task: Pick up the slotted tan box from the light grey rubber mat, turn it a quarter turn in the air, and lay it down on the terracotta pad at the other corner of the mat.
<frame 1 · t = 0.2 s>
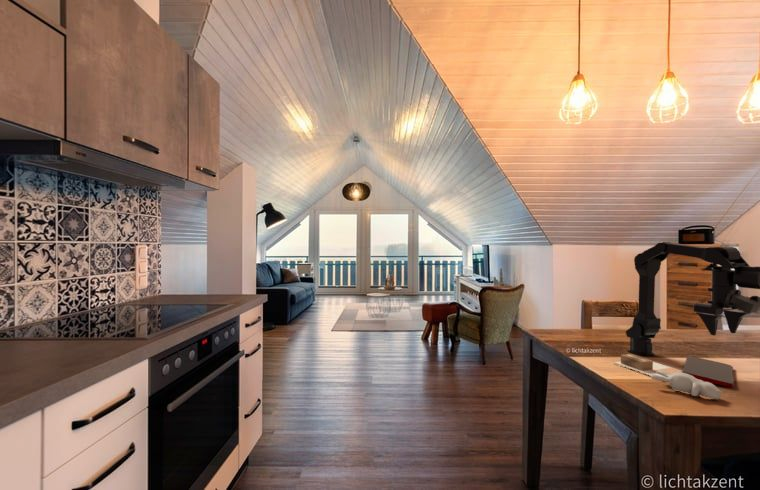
hand: (723, 334, 115), 14 cm above the table, tool pointing down, fingers open, 9 cm apart
mat: (652, 370, 123), on the table
slotted tan box: (636, 366, 125), point 1 cm above the table, touching mat
bunny figurine: (685, 393, 105), on the table
grey and red slab: (707, 372, 120), on the table, touching mat
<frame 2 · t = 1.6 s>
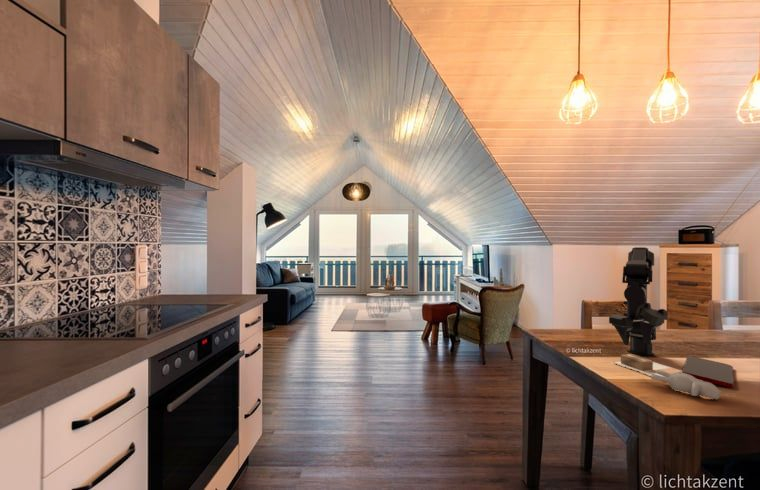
hand: (636, 343, 125), 8 cm above the table, tool pointing down, fingers open, 9 cm apart
nothing on the table moved.
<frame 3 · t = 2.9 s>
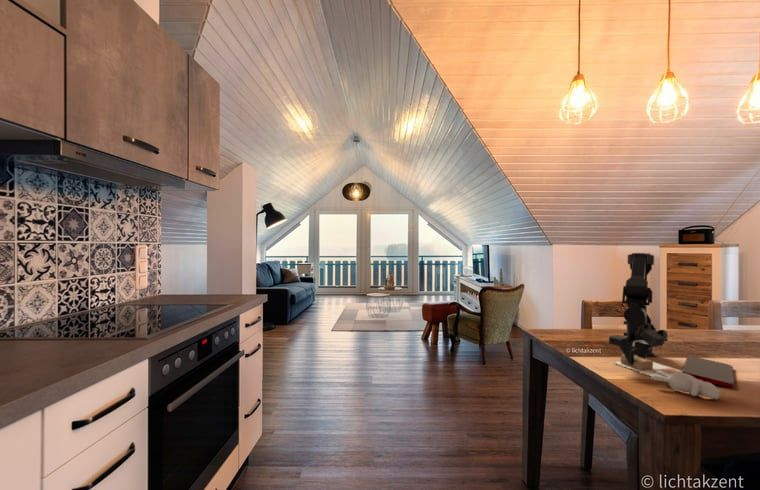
hand: (636, 364, 125), 1 cm above the table, tool pointing down, fingers closed on slotted tan box, 4 cm apart
slotted tan box: (636, 366, 125), point 1 cm above the table, touching gripper, mat
everything else where it was.
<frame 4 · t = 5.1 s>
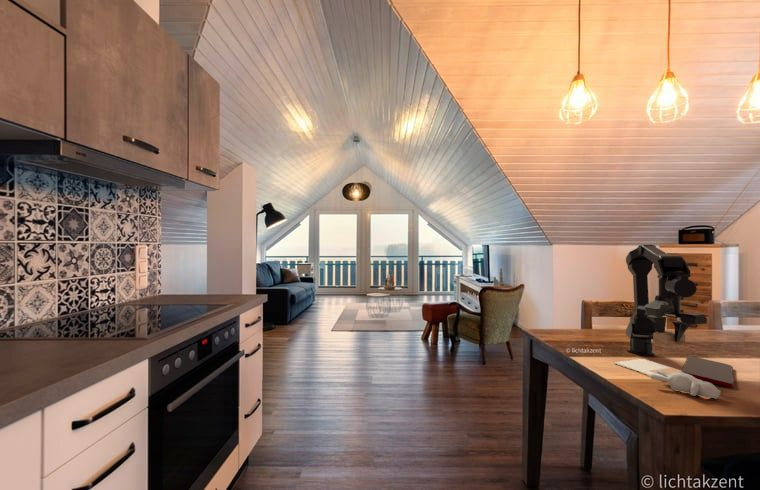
hand: (669, 340, 119), 11 cm above the table, tool pointing down, fingers closed on slotted tan box, 4 cm apart
slotted tan box: (669, 342, 119), point 11 cm above the table, touching gripper
everything else where it was.
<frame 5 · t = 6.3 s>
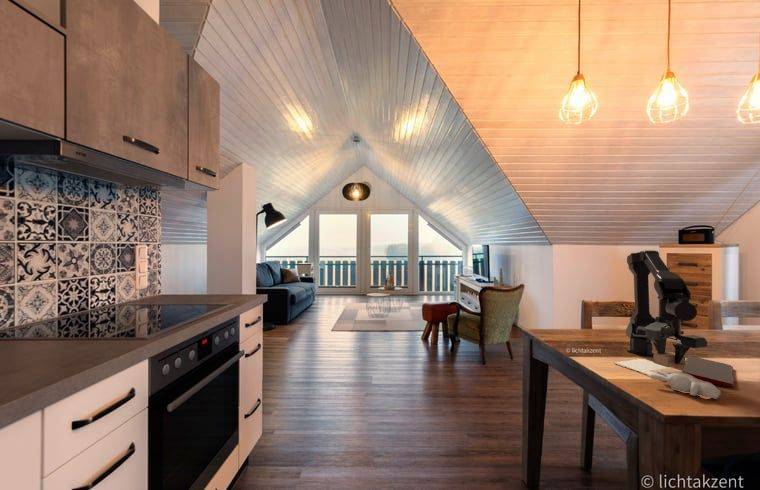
hand: (669, 361, 119), 4 cm above the table, tool pointing down, fingers closed on slotted tan box, 4 cm apart
slotted tan box: (669, 363, 119), point 3 cm above the table, touching gripper
everything else where it was.
when the fingers open (3 cm above the table, at t = 7.3 s): slotted tan box drops 1 cm, resting on mat, grey and red slab.
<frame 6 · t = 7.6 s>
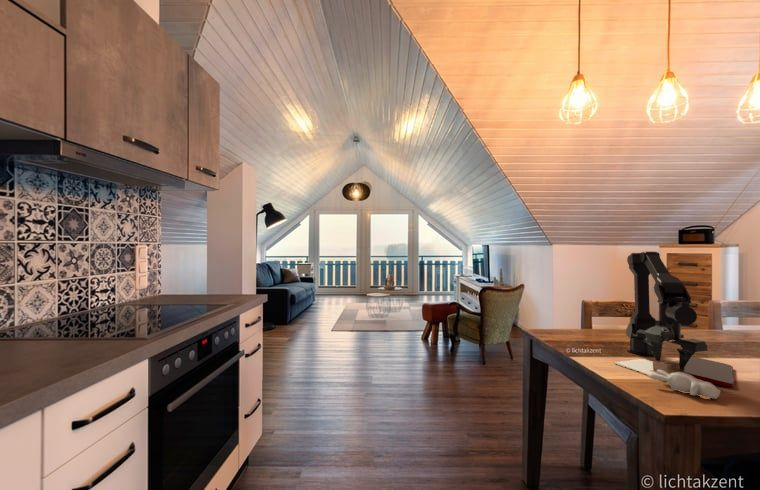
hand: (669, 365, 119), 3 cm above the table, tool pointing down, fingers open, 7 cm apart
slotted tan box: (669, 371, 119), point 1 cm above the table, touching mat, grey and red slab
grey and red slab: (707, 372, 120), on the table, touching mat, slotted tan box
everything else where it was.
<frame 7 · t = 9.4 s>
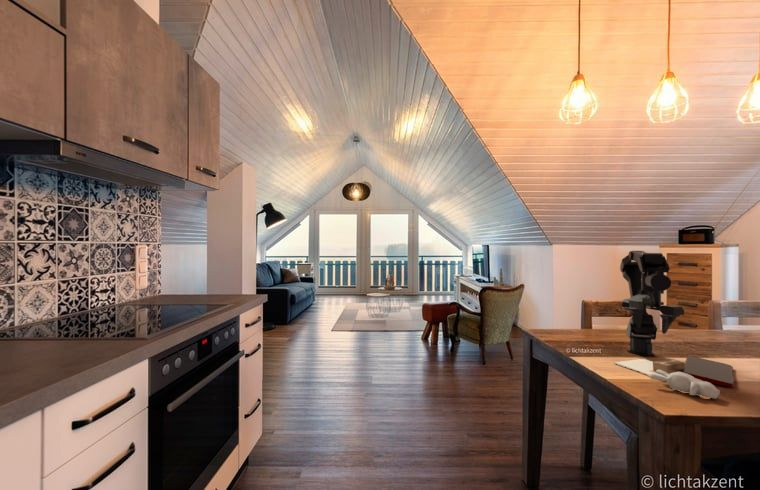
hand: (650, 330, 130), 12 cm above the table, tool pointing down, fingers open, 9 cm apart
nothing on the table moved.
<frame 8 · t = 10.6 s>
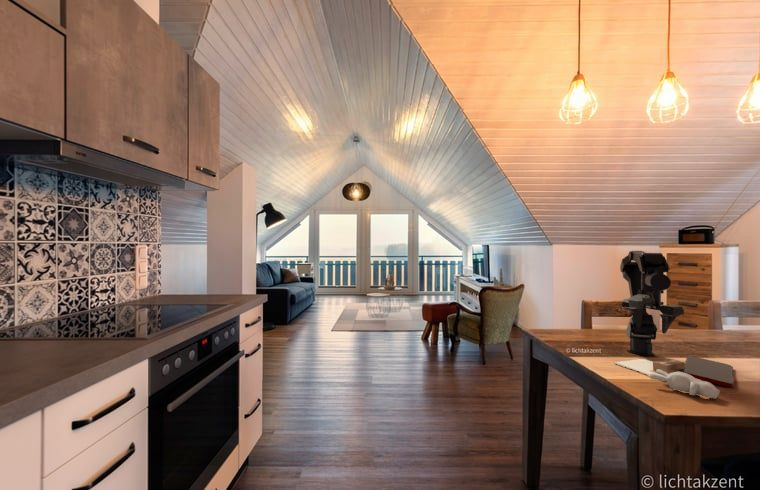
hand: (650, 330, 130), 12 cm above the table, tool pointing down, fingers open, 9 cm apart
nothing on the table moved.
at the end: slotted tan box 0.1 cm from the target spot, point 1.0 cm above the table; slotted tan box tilted 4°; the gripper is holding nothing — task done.
